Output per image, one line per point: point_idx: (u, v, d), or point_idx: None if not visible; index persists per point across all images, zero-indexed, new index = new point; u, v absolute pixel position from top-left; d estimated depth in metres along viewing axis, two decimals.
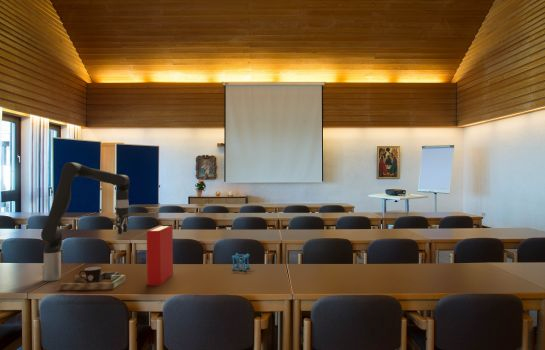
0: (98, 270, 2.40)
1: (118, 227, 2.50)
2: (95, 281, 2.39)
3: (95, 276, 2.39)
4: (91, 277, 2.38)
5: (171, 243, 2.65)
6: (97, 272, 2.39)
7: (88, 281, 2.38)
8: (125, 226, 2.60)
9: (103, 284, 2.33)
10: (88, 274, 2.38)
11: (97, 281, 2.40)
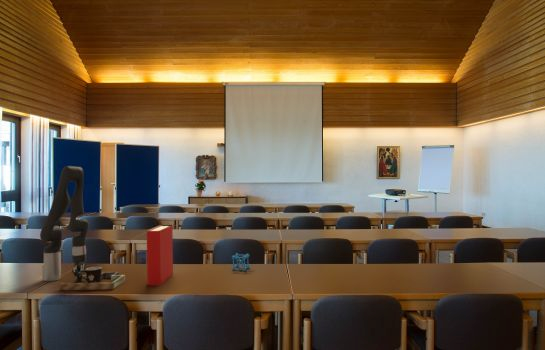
0: (99, 270, 2.40)
1: (77, 276, 2.40)
2: (96, 281, 2.39)
3: (96, 276, 2.39)
4: (92, 277, 2.38)
5: (171, 243, 2.65)
6: (98, 272, 2.39)
7: (89, 281, 2.38)
8: None
9: (103, 284, 2.33)
10: (89, 274, 2.38)
11: (98, 281, 2.40)
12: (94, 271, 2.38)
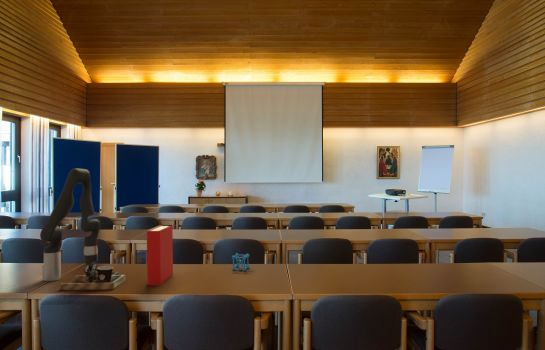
0: (110, 270, 2.40)
1: (88, 276, 2.40)
2: (106, 281, 2.39)
3: (107, 276, 2.39)
4: (103, 277, 2.38)
5: (171, 243, 2.65)
6: (109, 272, 2.39)
7: (99, 280, 2.38)
8: None
9: (103, 284, 2.33)
10: (100, 273, 2.38)
11: (108, 281, 2.40)
12: (105, 271, 2.38)
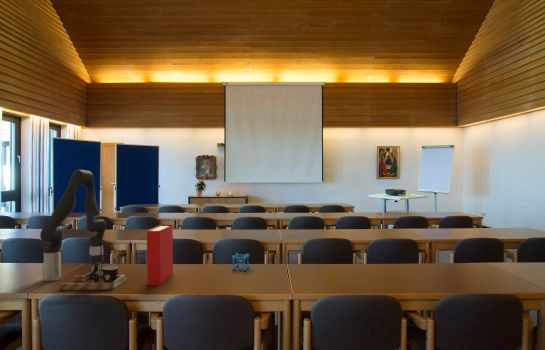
0: (115, 270, 2.40)
1: (94, 276, 2.40)
2: (112, 281, 2.39)
3: (112, 276, 2.38)
4: (108, 277, 2.38)
5: (171, 243, 2.65)
6: (114, 272, 2.39)
7: (105, 280, 2.38)
8: None
9: (103, 284, 2.33)
10: (105, 273, 2.38)
11: None
12: (111, 271, 2.38)
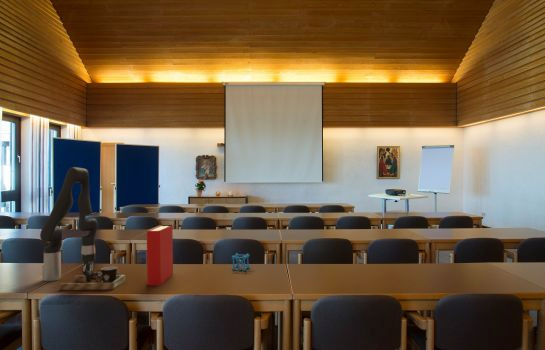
0: (114, 270, 2.40)
1: (86, 275, 2.40)
2: (111, 281, 2.39)
3: (111, 276, 2.38)
4: (107, 277, 2.38)
5: (171, 243, 2.65)
6: (113, 272, 2.39)
7: (104, 281, 2.38)
8: None
9: (103, 284, 2.33)
10: (104, 274, 2.38)
11: (113, 281, 2.40)
12: (109, 271, 2.38)
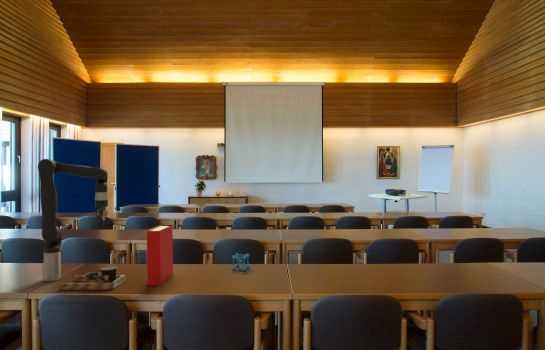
0: (114, 270, 2.40)
1: (100, 220, 2.62)
2: (111, 281, 2.39)
3: (111, 276, 2.38)
4: (107, 277, 2.38)
5: (171, 243, 2.65)
6: (113, 272, 2.39)
7: (104, 281, 2.38)
8: None
9: (103, 284, 2.33)
10: (104, 274, 2.38)
11: (113, 281, 2.40)
12: (109, 271, 2.38)
